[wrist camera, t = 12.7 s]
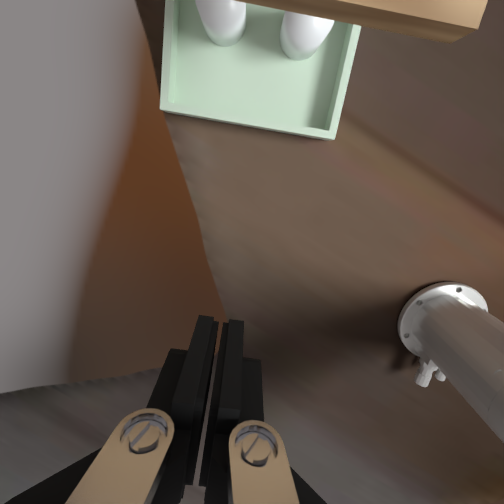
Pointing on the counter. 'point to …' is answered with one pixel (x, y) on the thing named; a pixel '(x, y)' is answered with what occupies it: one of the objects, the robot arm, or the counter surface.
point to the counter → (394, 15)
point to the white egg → (223, 20)
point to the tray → (254, 74)
